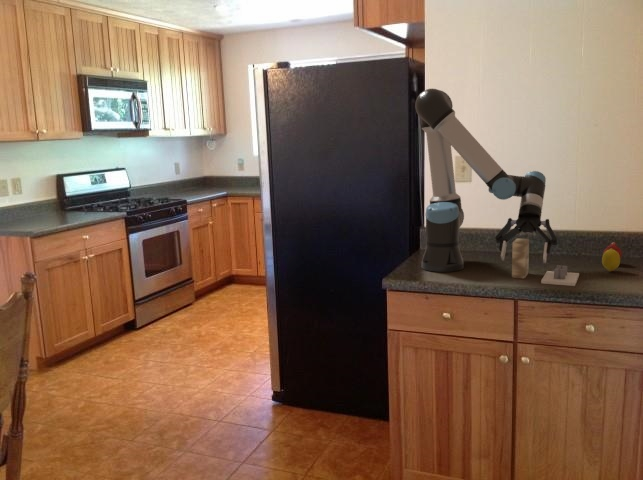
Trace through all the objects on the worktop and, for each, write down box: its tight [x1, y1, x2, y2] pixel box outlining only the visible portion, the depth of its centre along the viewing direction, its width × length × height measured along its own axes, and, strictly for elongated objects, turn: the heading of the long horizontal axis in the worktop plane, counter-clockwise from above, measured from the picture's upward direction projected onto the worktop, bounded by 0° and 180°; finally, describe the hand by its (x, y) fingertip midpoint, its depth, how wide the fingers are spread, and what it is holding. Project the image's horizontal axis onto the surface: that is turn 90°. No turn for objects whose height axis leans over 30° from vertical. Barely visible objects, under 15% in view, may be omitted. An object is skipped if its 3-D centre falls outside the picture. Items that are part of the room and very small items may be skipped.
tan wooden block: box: [511, 238, 530, 279], centre depth 200 cm, size 4×8×12 cm, turn 152°
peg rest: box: [540, 264, 580, 287], centre depth 192 cm, size 10×14×4 cm
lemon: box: [601, 249, 621, 273], centre depth 200 cm, size 6×6×8 cm
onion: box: [603, 242, 623, 259], centre depth 211 cm, size 6×6×8 cm
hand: (523, 259), depth 199 cm, fingers open, 13 cm apart
